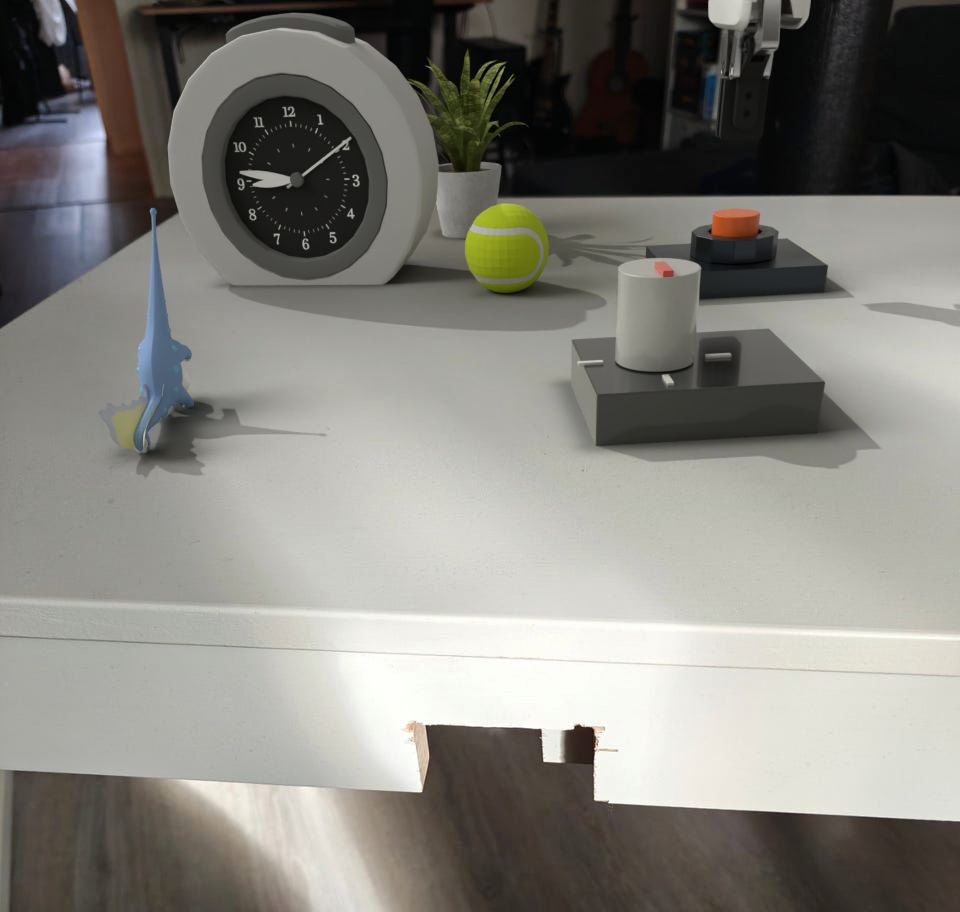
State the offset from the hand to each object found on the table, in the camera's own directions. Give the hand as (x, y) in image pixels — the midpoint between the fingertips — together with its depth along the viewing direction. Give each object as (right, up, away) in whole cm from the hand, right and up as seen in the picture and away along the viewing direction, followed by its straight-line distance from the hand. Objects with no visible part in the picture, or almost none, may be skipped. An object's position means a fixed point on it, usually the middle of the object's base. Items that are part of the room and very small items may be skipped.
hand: (738, 138), depth 77 cm
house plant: (-21, +4, +27) cm, 34 cm away
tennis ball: (-17, -10, +6) cm, 21 cm away
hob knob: (-10, -22, -20) cm, 31 cm away
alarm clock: (-34, -6, +13) cm, 37 cm away
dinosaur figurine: (-38, -25, -17) cm, 49 cm away
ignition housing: (+1, -9, +6) cm, 11 cm away
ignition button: (+1, -6, +4) cm, 7 cm away
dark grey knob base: (-8, -25, -18) cm, 32 cm away
